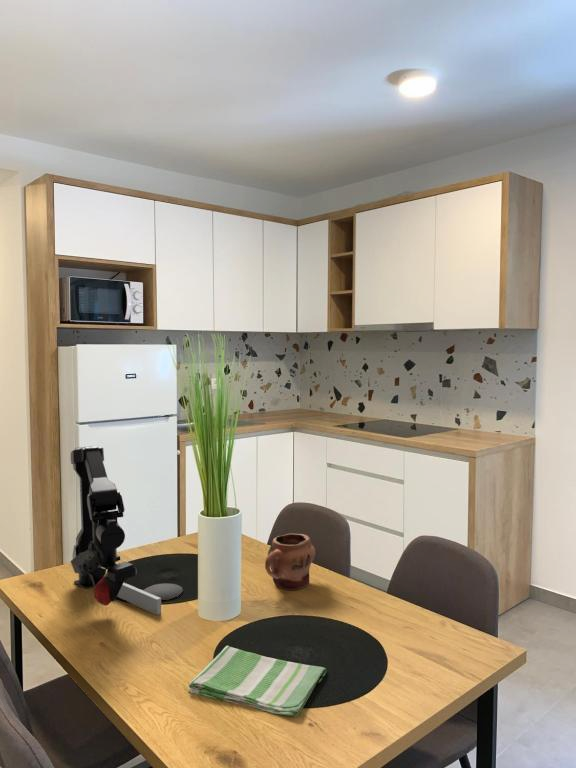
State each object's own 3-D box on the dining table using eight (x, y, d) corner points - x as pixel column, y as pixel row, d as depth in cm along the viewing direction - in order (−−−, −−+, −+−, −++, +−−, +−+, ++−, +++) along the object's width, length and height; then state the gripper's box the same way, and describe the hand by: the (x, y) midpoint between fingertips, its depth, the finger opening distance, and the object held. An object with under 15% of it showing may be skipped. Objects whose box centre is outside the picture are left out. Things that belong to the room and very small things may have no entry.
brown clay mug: (287, 603, 161) (287, 552, 160) (250, 593, 168) (250, 544, 167) (324, 579, 178) (324, 532, 177) (289, 571, 184) (289, 526, 184)
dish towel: (297, 723, 111) (297, 708, 111) (185, 696, 119) (185, 683, 119) (326, 674, 127) (326, 661, 127) (227, 653, 136) (227, 642, 136)
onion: (113, 610, 151) (113, 579, 151) (90, 610, 151) (90, 579, 151) (120, 600, 157) (120, 570, 156) (98, 600, 157) (98, 570, 157)
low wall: (111, 594, 167) (111, 580, 167) (115, 593, 168) (115, 578, 168) (157, 614, 154) (157, 599, 154) (161, 613, 155) (160, 598, 155)
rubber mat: (134, 594, 167) (134, 592, 167) (165, 582, 176) (165, 580, 176) (159, 604, 160) (159, 602, 160) (190, 591, 169) (190, 590, 169)
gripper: (55, 537, 153) (57, 597, 154) (97, 554, 141) (98, 619, 142) (94, 527, 161) (95, 584, 162) (137, 542, 149) (138, 603, 150)
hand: (105, 597), depth 154 cm, fingers closed on onion, 6 cm apart
